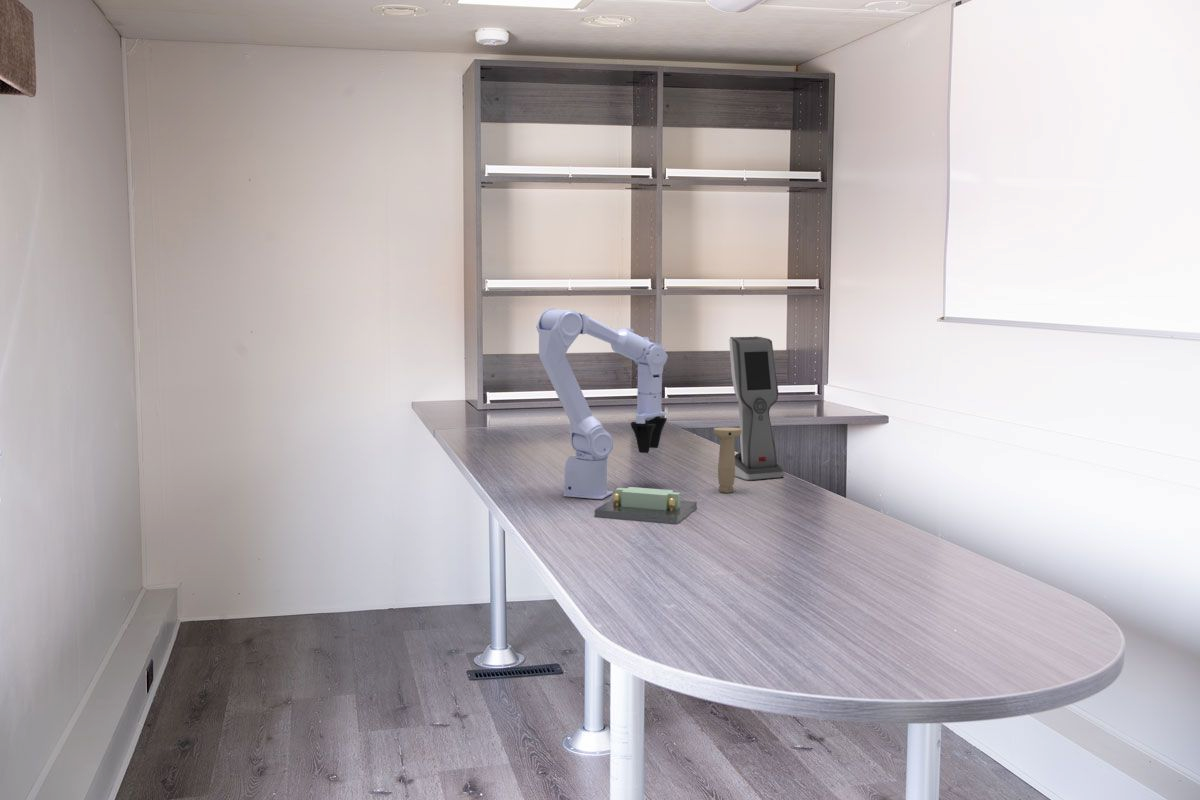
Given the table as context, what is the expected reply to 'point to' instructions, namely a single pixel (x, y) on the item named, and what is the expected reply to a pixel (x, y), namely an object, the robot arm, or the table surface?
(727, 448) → the handle
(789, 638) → the table surface
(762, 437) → the thermal camera
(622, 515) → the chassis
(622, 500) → the pale green block
